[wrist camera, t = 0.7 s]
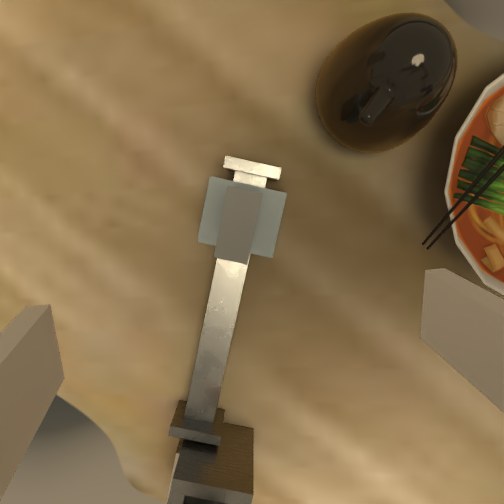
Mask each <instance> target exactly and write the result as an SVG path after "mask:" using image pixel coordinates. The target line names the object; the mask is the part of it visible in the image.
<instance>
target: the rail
mask: <svg viewBox="0 0 504 504" xmlns="http://www.w3.org/2000/svg"><path fill="white" fill-rule="evenodd" d="M223 167H224V168H225V169H226V170H229V171H234V172H235V175H234V180H233V181H235V182H240V183H244V184H249V185H253V186H258V187H262V188H265V185H266V181H267V179H270V180H274V181H277V180H279V177H280V172H281V168H279V167H274V166H270V165H265V164H261V163H257V162H252V161H248V160H243V159H239V158H234V157H230V156H225V161H224V166H223ZM249 258H250V254H249ZM248 262H249V259H248ZM247 267H248V263H247V265H246V264H242V263H237V262H232V261H228V260H223V259H219V258H217V261H216V266H215V271H214V276H213V281H212V285H211V290H210V295H209V300H208V304H207V309H206V314H205V319H204V324H203V328H202V333H201V338H200V343H199V347H198V352H197V357H196V362H195V367H194V371H193V376H192V381H191V386H190V391H189V395H188V400H187V402H185V401H180V400H179V403H178V406H177V409H176V412H175V414H174V417H173V420H172V423H171V425H170V430H169V435H168V436H173V437H178V438H183V439H188V440H193V441H198V442H203V443H208V444H212V445H217V446H219V444H220V440H221V435H222V427H223V420H224V412H225V410H224V409H219V408H217V403H218V398H219V394H220V389H221V385H222V380H223V376H224V371H225V367H226V362H227V358H228V353H229V349H230V344H231V339H232V335H233V330H234V326H235V321H236V317H237V312H238V308H239V303H240V299H241V294H242V290H243V285H244V280H245V276H246V271H247Z"/></svg>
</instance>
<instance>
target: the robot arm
mask: <svg viewBox="0 0 504 504" xmlns="http://www.w3.org/2000/svg"><path fill="white" fill-rule="evenodd" d="M420 338H421V339H422V340H423V341H424V342H425V343H426V344H428V345H429V346H430V347H431V348H432V349H433V350H434V351H435V352H437V353H438V354H439V355H440V356H441V357H442V358H443V359H444V360H445V361H447V362H448V363H449V364H450V365H451V366H452V367H453V368H454V369H456V370H457V371H458V372H459V373H460V374H461V375H462V376H463V377H465V378H466V379H467V380H468V381H469V382H470V383H471V384H472V385H473V386H475V387H476V388H477V389H478V390H479V391H480V392H481V393H482V394H484V395H485V396H486V397H487V398H488V399H489V400H490V401H491V402H492V403H494V404H495V405H496V406H497V407H498V408H499V409H500V410H501V411H503V412H504V299H502V298H500V297H498V296H496V295H494V294H492V293H490V292H489V291H487V290H485V289H483V288H481V287H479V286H477V285H475V284H474V283H472V282H470V281H468V280H466V279H464V278H462V277H460V276H458V275H457V274H455V273H453V272H451V271H449V270H447V269H445V268H441V269H430V270H425V279H424V293H423V306H422V319H421V333H420ZM63 380H64V373H63V368H62V362H61V357H60V352H59V347H58V342H57V337H56V332H55V326H54V321H53V316H52V311H51V306H50V304H49V305H38V306H28V307H25V308H24V309H23V310H22V311H21V312H20V313H19V314H18V315H17V316H16V317H15V318H14V319H13V320H12V321H11V322H10V323H9V325H8V326H7V327H6V328H5V329H4V330H3V331H2V332H1V333H0V500H1V498H2V496H3V494H4V493H5V491H6V489H7V487H8V485H9V483H10V481H11V479H12V477H13V475H14V473H15V472H16V470H17V468H18V466H19V464H20V462H21V460H22V458H23V456H24V454H25V452H26V451H27V449H28V447H29V444H30V443H31V441H32V439H33V437H34V435H35V433H36V431H37V429H38V428H39V426H40V424H41V422H42V420H43V418H44V416H45V414H46V412H47V410H48V408H49V406H50V405H51V403H52V401H53V398H54V397H55V395H56V393H57V391H58V389H59V387H60V385H61V384H62V382H63Z"/></svg>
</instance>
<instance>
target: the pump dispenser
mask: <svg viewBox="0 0 504 504" xmlns="http://www.w3.org/2000/svg"><path fill="white" fill-rule="evenodd" d="M456 70H457V50H456V46H455V42H454V40H453V38H452V36H451V34H450V32H449V31H448V30H447V28H446V27H445V26H444V25H443V24H442V23H440V22H439V21H437V20H436V19H434V18H432V17H430V16H427V15H423V14H419V13H398V14H393V15H389V16H385V17H382V18H379V19H377V20H374V21H372V22H370V23H368V24H366V25H364V26H362V27H360V28H359V29H357V30H356V31H354V32H353V33H351V34H350V35H349V36H348V37H346V38H345V39H344V40H343V41H341V42H340V43H339V44H338V45H337V46H336V47H335V48H334V50H333V51H332V52H331V53H330V55H329V56H328V57H327V59H326V61H325V62H324V64H323V66H322V68H321V71H320V73H319V76H318V80H317V84H316V106H317V110H318V114H319V117H320V119H321V121H322V123H323V125H324V127H325V128H326V130H327V131H328V132H329V134H330V135H331V136H332V137H333V138H334V139H335V140H337V141H338V142H339V143H341V144H342V145H344V146H346V147H348V148H350V149H353V150H356V151H360V152H367V153H375V152H383V151H387V150H390V149H393V148H395V147H398V146H400V145H402V144H403V143H405V142H407V141H408V140H410V139H411V138H412V137H414V136H415V135H416V134H417V133H419V132H420V131H421V130H422V129H423V128H424V127H425V126H426V125H427V124H428V123H429V122H430V121H431V119H432V118H433V117H434V116H435V114H436V113H437V112H438V110H439V109H440V107H441V106H442V104H443V103H444V101H445V99H446V98H447V96H448V94H449V92H450V90H451V87H452V85H453V82H454V79H455V75H456Z"/></svg>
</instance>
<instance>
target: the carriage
mask: <svg viewBox="0 0 504 504" xmlns="http://www.w3.org/2000/svg"><path fill="white" fill-rule="evenodd" d="M286 196H287V193H285V192H280V191H276V190H271V189H267V188H262V187H258V186H253V185H249V184H244V183H240V182H235V181H231V180H226V179H222V178H217V177H212V176H210V179H209V184H208V189H207V194H206V199H205V204H204V209H203V214H202V219H201V224H200V229H199V234H198V239H197V242H200V243H205V244H209V245H214V246H215V251H214V256H213V257H214V258H219V259H223V260H228V261H232V262H237V263H242V264H246V265H247V263H248V259H249V254H250V253H251V254H255V255H260V256H265V257H269V258H273V253H274V249H275V245H276V240H277V236H278V231H279V227H280V223H281V218H282V214H283V210H284V205H285V201H286Z"/></svg>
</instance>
